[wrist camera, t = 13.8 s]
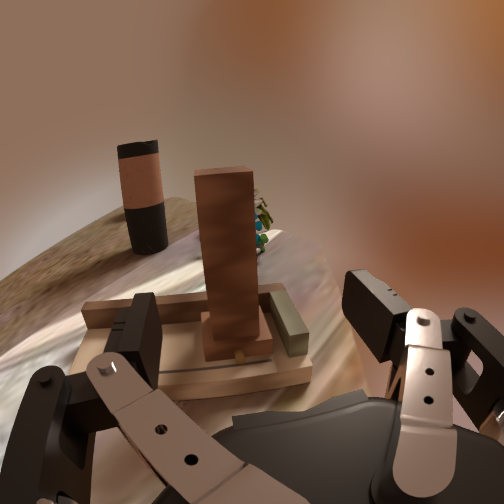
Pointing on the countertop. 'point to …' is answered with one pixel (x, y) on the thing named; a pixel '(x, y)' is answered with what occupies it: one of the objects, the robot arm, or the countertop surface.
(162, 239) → the travel mug
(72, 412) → the robot arm
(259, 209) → the passion flower
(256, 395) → the countertop surface
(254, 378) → the board
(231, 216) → the panel
